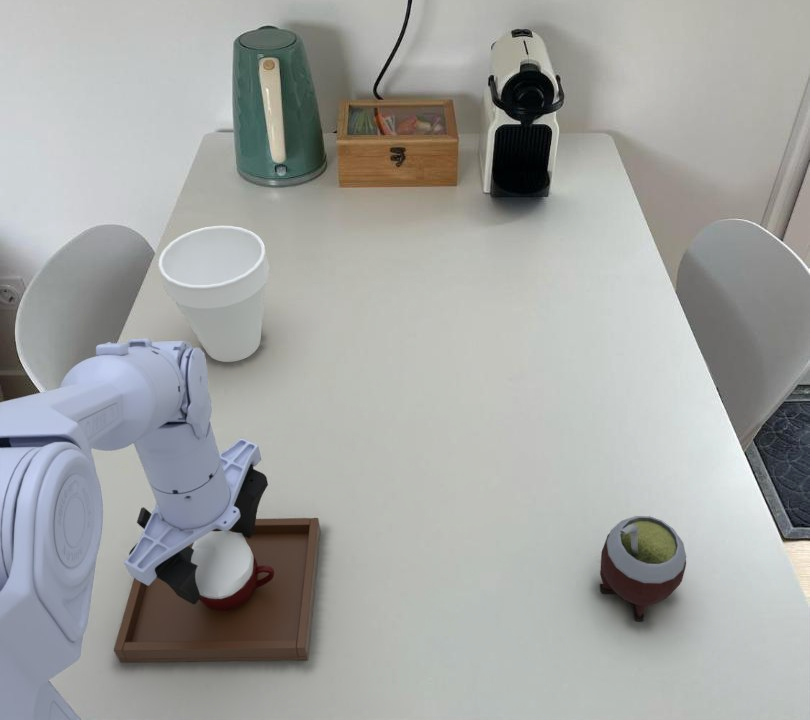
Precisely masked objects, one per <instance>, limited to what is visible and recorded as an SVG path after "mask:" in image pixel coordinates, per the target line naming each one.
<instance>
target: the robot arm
mask: <svg viewBox="0 0 810 720" xmlns="http://www.w3.org/2000/svg"><path fill="white" fill-rule="evenodd" d="M95 354H96V355H95V356H92V357H89V358H86V359H84V360H82V361H80V362H79V363H76V365H74V366H73V367H72V368H71V369H70V370H69V371H68V372H67V373H66V374H65V376H64V378H63V379H62V381H61V384H60V386H59V388H54V389H50V390H46V391H42V392H37V393H34V394H30V395H26V396H22V397H17V398H13V399H12V398H11V399H9V400H4V401H1V402H0V720H82V719H81V718H80V717H79V715H78V714H77V713H76V712H75V710H74V709H73V708H72V707H71V705H69V703H68V702H67V701H66V700H65V698H64V697H63V696H62V695H61V694H60V692H59V691H58V690H57V688H56V687H55V686H54V685H53V683H52V682H51V681H50V680H52V679H53V678H55V677H57V676H58V675H59V674H60V673H63V671H65V670H66V669H68V668H70V667H71V666H73V665H74V664H75V663H77V662H78V661H79V660H80V658H81V654H82V647H83V640H84V634H85V632H86V631H87V627H88V624H89V616H90V609H91V601H92V594H93V587H94V581H95V574H96V573H95V572H96V563H97V557H98V554H99V549H100V545H101V540H102V534H103V526H104V525H103V524H104V503H103V502H104V501H103V493H102V487H101V484H100V483H101V482H100V478H99V476H98V473H97V468H96V464H95V459H94V456H93V452H92V450H97V451H105V452H113V451H118V450H123V449H125V448H127V447H129V446H131V445H133V446H134V448H135V451H136V453H137V455H138V458H139V461H140V464H141V467H142V469H143V472H144V473H145V476H146V478H147V482H148V484H149V487H150V489H151V491H152V494H153V496H154V499H155V502H156V504H155V506H154V508H153V511H152V512H151V517H150V519H149V521H148V523H147V525H146V527H145V529H143V531H142V533H141V535H140V538H139V539H138V542H137V543H136V544H135V545H134V546H133V547H132V548H131V549H130V551H129V553H128V557H126V559H125V560H124V561H123V564H124V565H125V568H126V570H127V572H128V574H129V576H130V577H132V578H133V579H134V578H135V579H137V580H138V581H140V582H142V583H144V584H146V585H148V586H149V585H150V584H151V583H152V582H153V581H154V580H155V578H156V577H157V578H158V579H160V580H162V581H164V582H166V583H167V584H168V585H169V586H170V587H171V588H172V589H173V590H174V592H175V593H176V594H177V595H178V596H179V597H181V598H183V599H184V600H186V601H188V602H190V603H192V604H196V603H197V601H198V600H199V599H200V593H199V590H198V587H197V585H196V580H195V573H196V569H197V567H198V566H197V565H196V564H194V563H192V562H190V561H188V560H186V559H184V558H182V556H181V554H180V553H178V552H179V551H181V550H182V549H184V548H185V547H187V546H189V545H190V544H192V543H193V542H195V541H196V540H198V539H200V538H201V537H203V536H204V535H206V534H208V533H209V532H211V531H212V530H214V529H220V530H222V531H228V530H229V529H232V530H233V531H235V532H237V533H242V535H243V536H245V537H247V538H249V539H250V538H251V536H252V535H253V534H254V529H255V521H256V519H257V513H258V509H259V506H260V502H261V499H262V497H263V494H264V493H265V491H266V489H267V487H268V486H269V483H268V479H267V475H265V474H264V473H263V472H261V471H259V470H256V469H255V468H254V467H256V466H257V465H258V464H259V463H260V462H261V461H262V460H263V459H262V456H261V451H260V448H259V447H260V446H259V445H258V444H256V443H254V442H252V441H249V440H247V439H245V438H242V437H240V438H239V439H237V441H235V442H234V443H233V444H232V445H231V446H229V447H228V448H227V449H225V450H224V451H222V452H220V451H219V448H218V445H217V440H216V438H215V434H214V431H213V428H212V424H211V417H212V412H213V407H212V399H211V396H210V395H211V394H210V391H209V375H208V374H209V373H208V365H207V359H206V355H205V352H204V351H202V349H201V348H200V347H198V346H197V347H193V345H191V342H190V341H188V340H171V341H170V340H168V341H167V340H165V341H164V340H163V341H161V340H160V341H153V340H152V339H150V338H147V337H143V338H131V339H129V340H128V341H127V342H125V341H124V342H111V341H107V342H106V343H101V344H98V345H96V346H95Z"/></svg>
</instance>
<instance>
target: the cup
mask: <svg viewBox="0 0 810 720" xmlns="http://www.w3.org/2000/svg"><path fill="white" fill-rule="evenodd" d="M160 253H161V254H160V256H159V257H158V266H157V267H158V270H159V272H160V275H161V280H162V285H163V289H164V291H165V293H166V296H168V297H169V298H170V299H171V300H172V301H173V302H174V303H175V304H176V306H177V307H178V309H179V310H180V312H181V314H182V315H183V317H184V318H185V320H186V322H187V324H188V325H189V326H190V328H191V330H192V331H193V333H194V334H195V336H196V338H197V339H198V341H199V342H200V344H201V345H202V348H203V349H204V350H205V351H206V353H207V355H208V356H209V357H210V358H211V359H213V360H215V361H217V362H222V363H233V362H239V361H242V360H244V359H247V358H249V357H251V356H252V355H253V354H254V353H255V352H256V351H257V350H258V348H259V347H260V344H261V338H262V337H261V336H262V328H263V316H264V306H265V295H266V285H267V281H268V279H269V275H270V263H269V261H268V257H267V254H266V253H267V252H266V246H265V243H264V241H263V240H262V238H261V237H260V236H259V235H258V234H256V233H255V232H253V231H252V230H249V229H246V228H244V227H239V226H234V225H212V226H205V227H201V228H198V229H194V230H190V231H189V232H187V233H184V234H182V235H180V236H178V237H176V238H175V239H174V240H172V241H171V242H169V243H168V244H167V246H166V247H165V248H163V250H162V251H161V252H160Z"/></svg>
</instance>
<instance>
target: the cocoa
mask: <svg viewBox="0 0 810 720" xmlns="http://www.w3.org/2000/svg"><path fill="white" fill-rule="evenodd" d="M151 514H152V512H150V511H149V510H148V509H147V508H145V507H143V506H142V507H141V508H140V510H139V514H138V517H137V521H136V524H137V525H138V526H139V527H141V528H142V529H143V530H144V529H145V527H146V525H147V523H148V521H149V519H150V517H151ZM178 553H180V554H181V556H182V558H184V559H186V560H188V561H190V562H192V563H194V564H196V565H197V566H198V567H197V569H196V573H195V580H196V585H197V587H198V590H199V593H200V599H199V600H200V601H201V602H202V603H204V604H205V605H206V606H207V607H209V608H210V609H214V610H219V611H227V610H231V609H235V608H238V607H239V606H240V605H242V604H243V603H245V602H246V601H248V600H249V598H250V597H251V595H252V594H253V592H254V591H255V589H256V588H258V587H260V586H262V585H265V584H266V583H268V582H269V581H271V580H272V578H273V576H274V570H273V568H271V567H269V566H259V567H258V565H257V562H256V559H255V557H254V554H253V552H252V549H251V548H250V547H249V545H248V544H247V542H246V540H245V538H244V536H243V535H242V533H236V532H232V531H229V530H228V531H211V532H209V533H208V534H206V535H204V536H203V537H201V538H200V539H198V540H196V541H195V542H194V544H193V546H192V548H191V547H190V546H187V547H185V548H184V549H182V550H181V551H179V552H178ZM262 572H266V573H269V575H268V576H266V577H264V578H263V579H260V580H257V578H258V574H259V573H262Z"/></svg>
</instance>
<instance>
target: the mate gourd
mask: <svg viewBox="0 0 810 720" xmlns="http://www.w3.org/2000/svg"><path fill="white" fill-rule="evenodd" d="M600 554H601V555H600V570H599V572H600V578H601V582H602V583H599V592H600V594H604V595H618V596H619V597H620V598H622V599H623V600H624V601H626V602H629V603H631V609H632V614H633V619H634V622H638V623H639V622H644V620H645V614H644V612H645V611H646V610H647V609H648V607H649V606H652V605H655V604H657V603H659V602H662V601H664V600H666V599H667V598H668V597H670V595H671V594H672V593H674V591H676V589H678V587H679V586H680V585H681V583H682V582H683V579H684V575H685V571H686V567H687V554H686V549H685V545H684V542H683V540H682V538H680V536H679V535H678V533H677V532H676V530H675V529H674V528H673V527H672V526H670V524H668V523H666V522H665V521H664V520H662V519H659V518H656V517H653V516H651V515H634V516H633V517H629V518H626V519H622V520H620V522H618V523H617V524H616V525H615V526H614V527H613V528H611V529H610V532H609V533H608V534H607V536H606V539H605V541H604V545H603V547H602V550H601V553H600Z"/></svg>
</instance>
